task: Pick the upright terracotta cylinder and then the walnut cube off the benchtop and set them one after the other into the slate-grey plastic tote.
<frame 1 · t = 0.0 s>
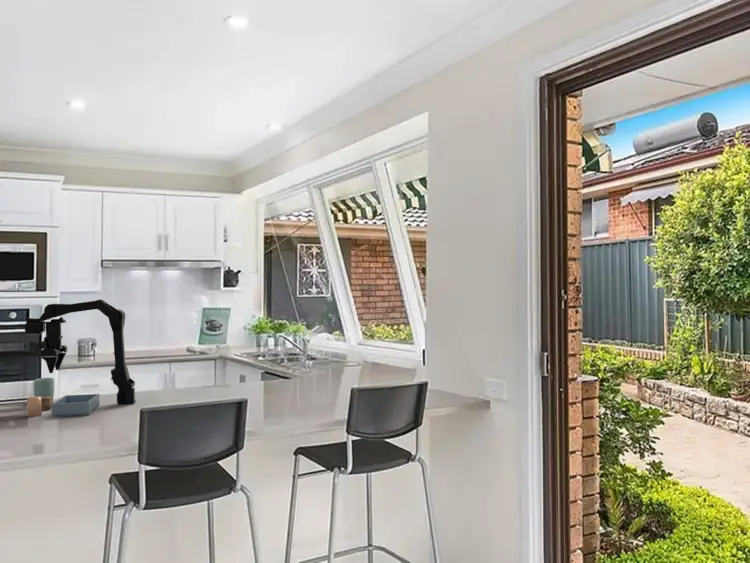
hand: (54, 371, 280), 15 cm above the countertop, fingers open, 9 cm apart
slate tote: (76, 411, 270), on the countertop
terracotta cylinder: (34, 415, 263), on the countertop
walnut cube: (44, 409, 275), on the countertop
cup: (44, 402, 292), on the countertop
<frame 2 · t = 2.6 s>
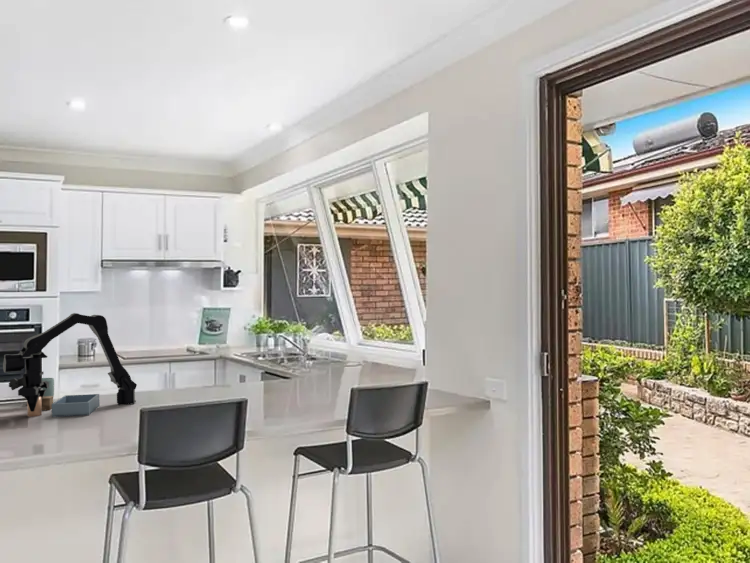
hand: (34, 410, 263), 2 cm above the countertop, fingers closed on terracotta cylinder, 5 cm apart
terracotta cylinder: (34, 415, 263), on the countertop, touching gripper
everything else where it was.
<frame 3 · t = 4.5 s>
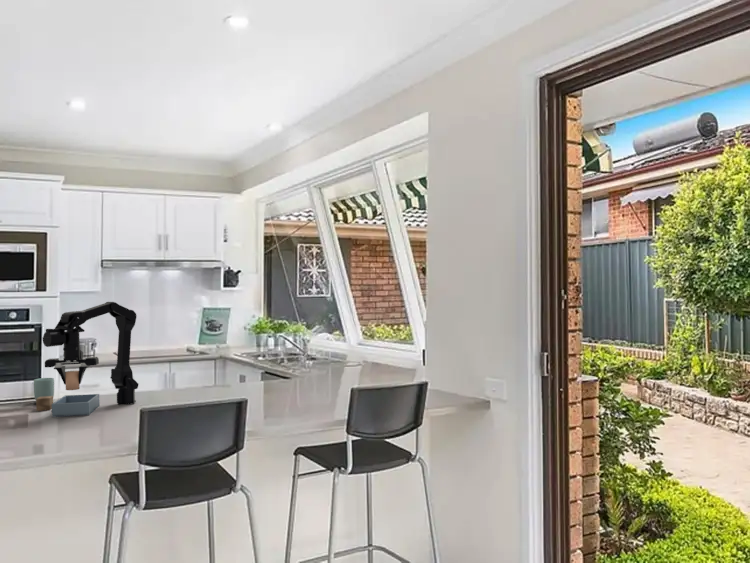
hand: (72, 384, 265), 12 cm above the countertop, fingers closed on terracotta cylinder, 5 cm apart
terracotta cylinder: (72, 389, 265), point 10 cm above the countertop, touching gripper
everything else where it was.
when the fingers open (4 cm above the countertop, at t = 6.4 s): terracotta cylinder drops 1 cm, resting on slate tote.
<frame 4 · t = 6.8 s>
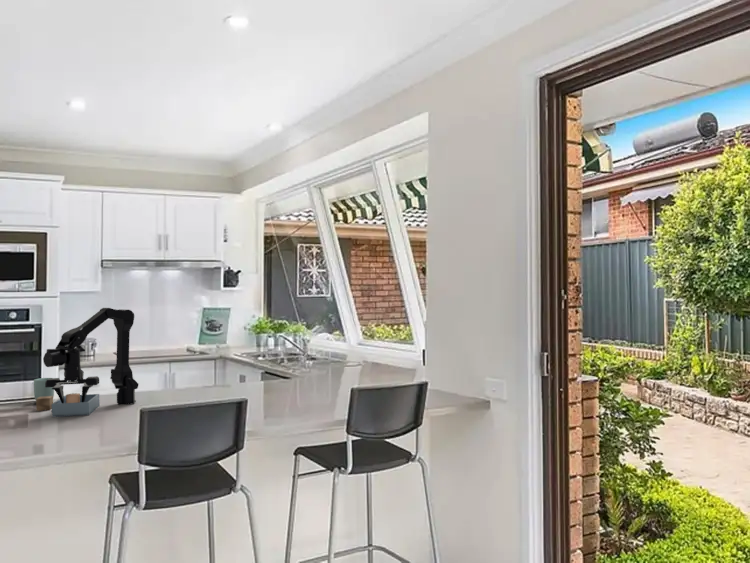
hand: (73, 403, 265), 4 cm above the countertop, fingers open, 7 cm apart
terracotta cylinder: (73, 412, 265), point 1 cm above the countertop, touching slate tote
everything else where it was.
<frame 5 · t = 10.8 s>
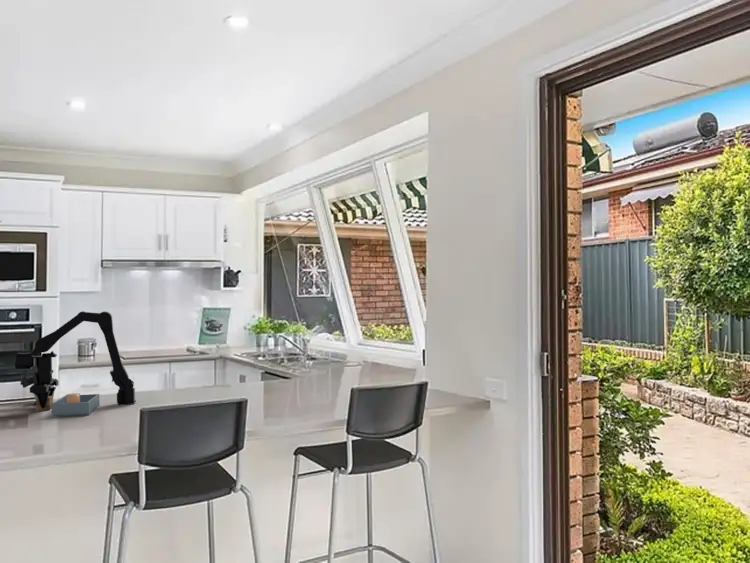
hand: (44, 406, 275), 1 cm above the countertop, fingers closed on walnut cube, 5 cm apart
walnut cube: (44, 409, 275), on the countertop, touching gripper
everything else where it was.
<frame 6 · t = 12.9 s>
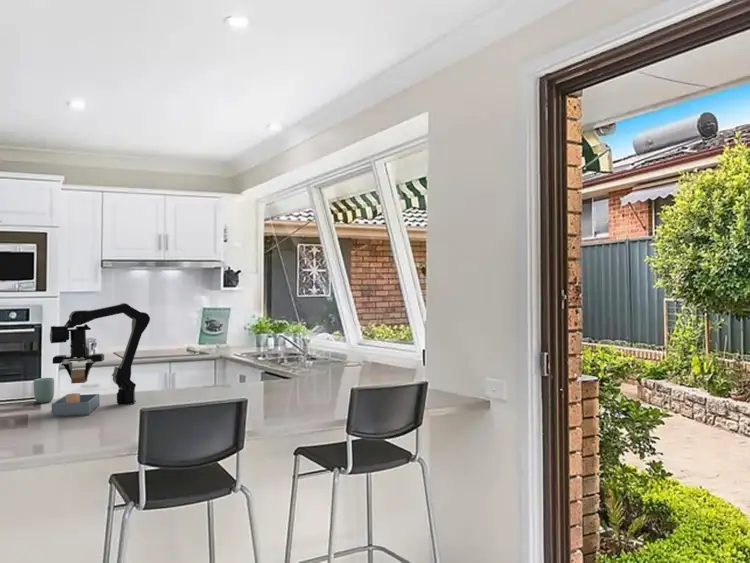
hand: (79, 379, 276), 12 cm above the countertop, fingers closed on walnut cube, 5 cm apart
walnut cube: (79, 382, 276), point 11 cm above the countertop, touching gripper
everything else where it was.
when the fingers open (3 cm above the countertop, at t = 15.0 s): walnut cube drops 1 cm, resting on slate tote.
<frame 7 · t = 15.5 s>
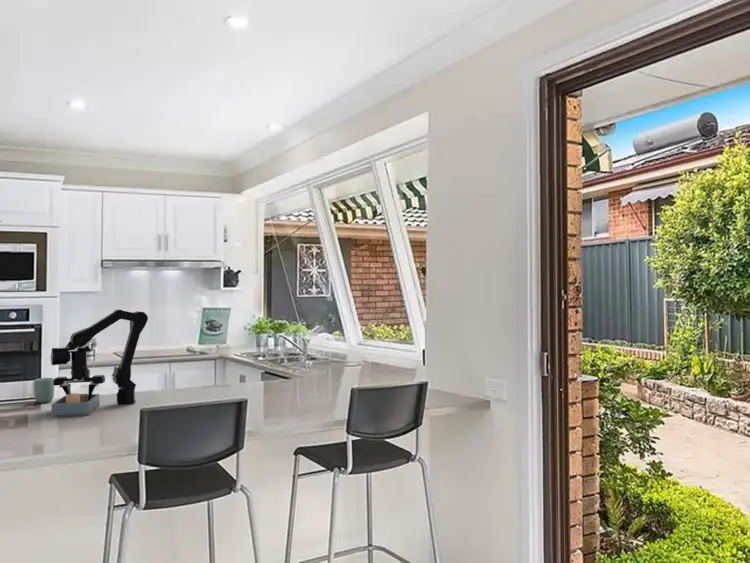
hand: (79, 401, 276), 3 cm above the countertop, fingers open, 7 cm apart
walnut cube: (79, 406, 276), point 1 cm above the countertop, touching slate tote
everything else where it was.
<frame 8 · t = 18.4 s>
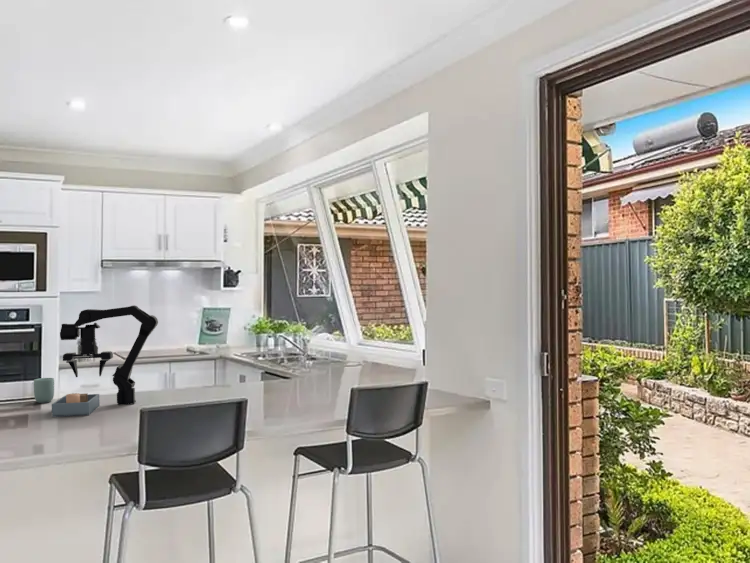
hand: (88, 376, 283), 12 cm above the countertop, fingers open, 9 cm apart
nothing on the countertop moved.
at the end: terracotta cylinder inside the target area on the slate tote (5.5 cm from its centre), point 0.7 cm above the slate tote's base; walnut cube inside the target area on the slate tote (5.5 cm from its centre), point 0.7 cm above the slate tote's base; the gripper is holding nothing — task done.
